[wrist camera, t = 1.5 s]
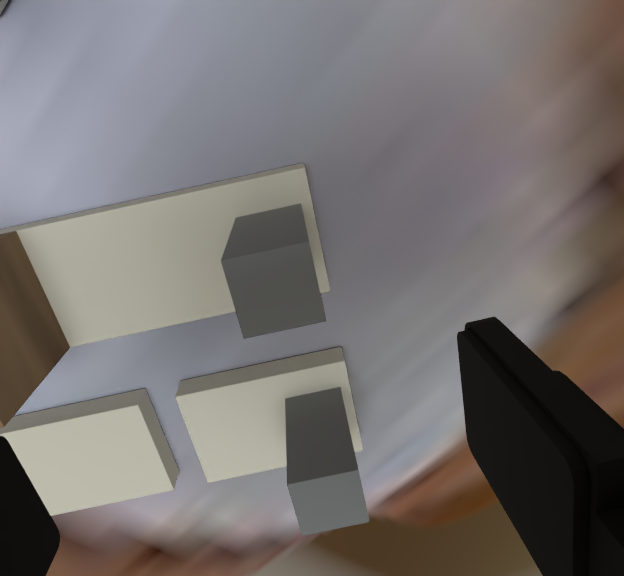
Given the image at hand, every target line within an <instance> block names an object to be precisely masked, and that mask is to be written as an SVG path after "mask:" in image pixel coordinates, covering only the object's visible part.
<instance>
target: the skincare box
mask: <svg viewBox="0 0 624 576" xmlns="http://www.w3.org/2000/svg"><path fill="white" fill-rule="evenodd" d="M7 2H8V0H0V14H1V13H2V11H3V9H4V7H5V6H6V4H7Z"/></svg>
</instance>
